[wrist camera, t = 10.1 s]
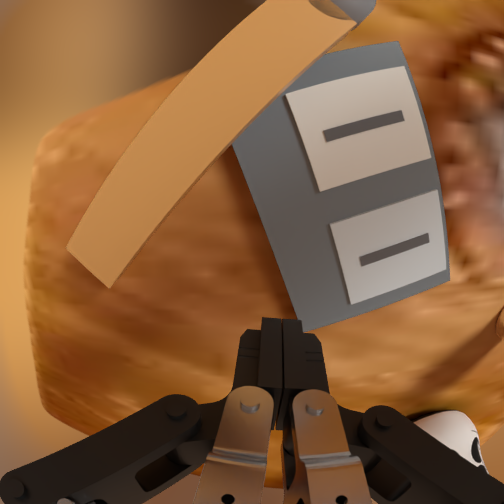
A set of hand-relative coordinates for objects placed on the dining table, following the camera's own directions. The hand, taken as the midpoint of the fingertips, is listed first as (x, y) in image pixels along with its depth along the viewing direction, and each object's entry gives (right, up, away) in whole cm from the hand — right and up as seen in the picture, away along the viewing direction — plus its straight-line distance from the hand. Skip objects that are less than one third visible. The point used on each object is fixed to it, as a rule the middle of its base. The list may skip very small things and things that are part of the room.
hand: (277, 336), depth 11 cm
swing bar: (-3, +11, +4) cm, 12 cm away
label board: (+6, +8, +10) cm, 14 cm away
